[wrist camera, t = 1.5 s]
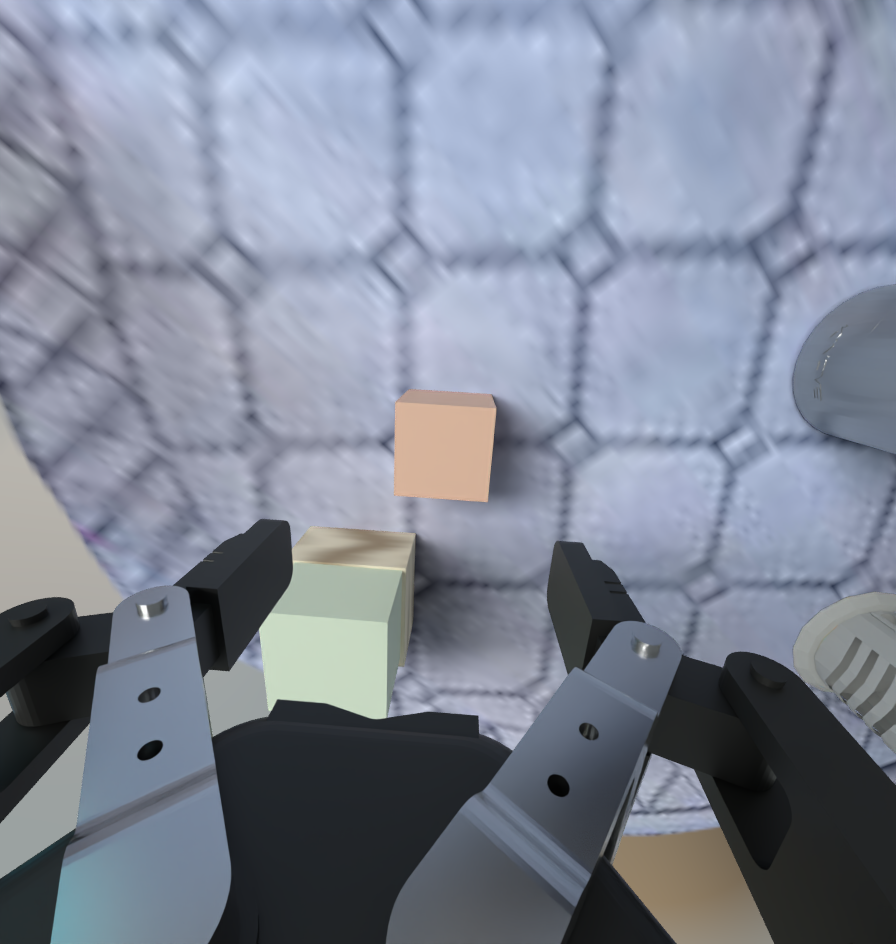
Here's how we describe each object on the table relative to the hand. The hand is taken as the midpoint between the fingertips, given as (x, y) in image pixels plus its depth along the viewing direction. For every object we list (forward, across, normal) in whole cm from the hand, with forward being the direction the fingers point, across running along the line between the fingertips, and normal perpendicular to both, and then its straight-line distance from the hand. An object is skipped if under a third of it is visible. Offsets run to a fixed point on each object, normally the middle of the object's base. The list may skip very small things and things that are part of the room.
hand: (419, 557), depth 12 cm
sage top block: (+12, +6, +12) cm, 18 cm away
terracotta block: (+17, 0, 0) cm, 17 cm away
